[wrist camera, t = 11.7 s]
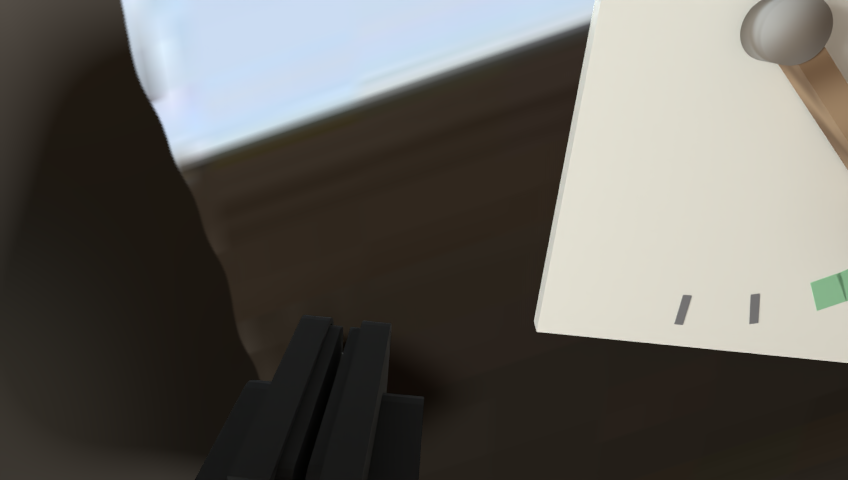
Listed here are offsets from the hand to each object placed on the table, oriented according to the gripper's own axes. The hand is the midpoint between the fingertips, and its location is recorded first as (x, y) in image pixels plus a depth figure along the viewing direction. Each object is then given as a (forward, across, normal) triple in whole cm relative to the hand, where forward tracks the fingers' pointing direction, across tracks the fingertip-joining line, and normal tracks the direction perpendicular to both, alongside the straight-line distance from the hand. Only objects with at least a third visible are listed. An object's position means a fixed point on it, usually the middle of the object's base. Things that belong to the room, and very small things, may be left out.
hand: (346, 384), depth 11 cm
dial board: (+29, -24, +2) cm, 37 cm away
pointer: (+27, -26, -1) cm, 38 cm away
